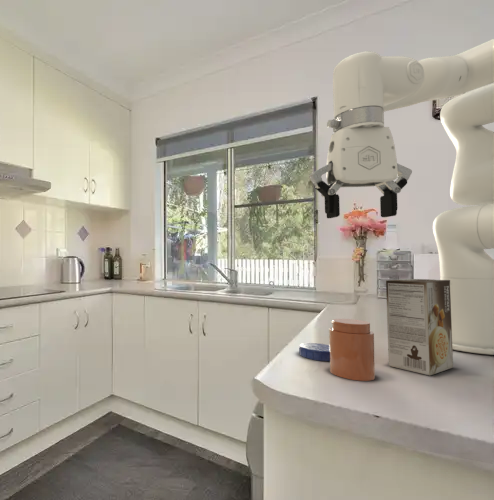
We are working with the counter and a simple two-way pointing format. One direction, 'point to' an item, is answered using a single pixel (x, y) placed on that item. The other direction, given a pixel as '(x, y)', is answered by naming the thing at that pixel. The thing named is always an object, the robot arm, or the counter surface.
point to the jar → (352, 349)
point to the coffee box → (419, 325)
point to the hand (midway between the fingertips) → (360, 216)
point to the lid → (315, 351)
